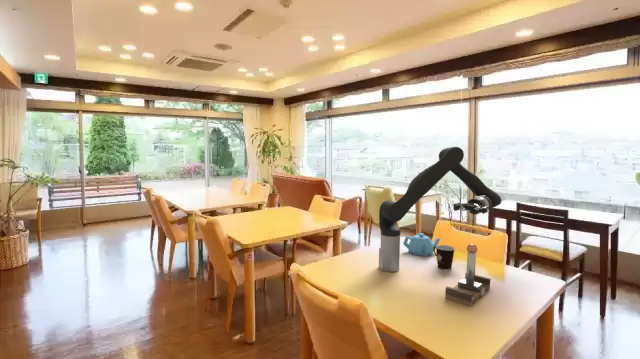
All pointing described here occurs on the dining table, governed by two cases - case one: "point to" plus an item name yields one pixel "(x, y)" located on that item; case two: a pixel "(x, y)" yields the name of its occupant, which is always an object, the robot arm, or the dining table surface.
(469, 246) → the handle
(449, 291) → the base
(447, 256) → the coffee mug
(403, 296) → the dining table surface
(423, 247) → the teapot
